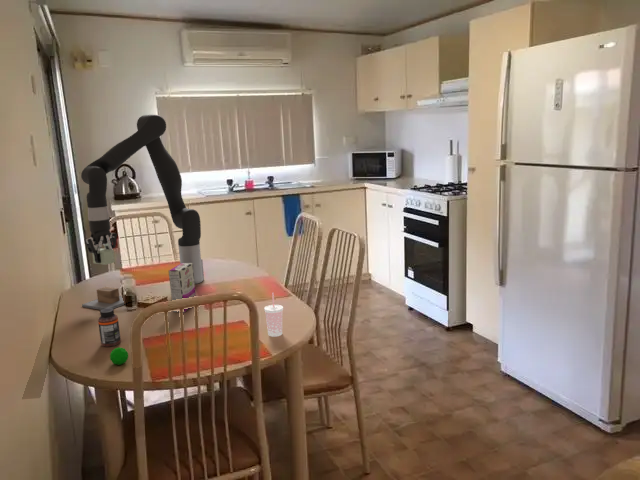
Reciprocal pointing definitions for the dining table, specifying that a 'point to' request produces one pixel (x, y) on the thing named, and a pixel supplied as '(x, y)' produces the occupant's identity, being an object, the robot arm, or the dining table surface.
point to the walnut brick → (108, 295)
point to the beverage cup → (274, 319)
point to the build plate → (103, 304)
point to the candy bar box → (182, 282)
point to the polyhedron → (119, 356)
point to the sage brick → (105, 256)
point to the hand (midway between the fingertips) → (104, 261)
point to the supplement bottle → (109, 328)
